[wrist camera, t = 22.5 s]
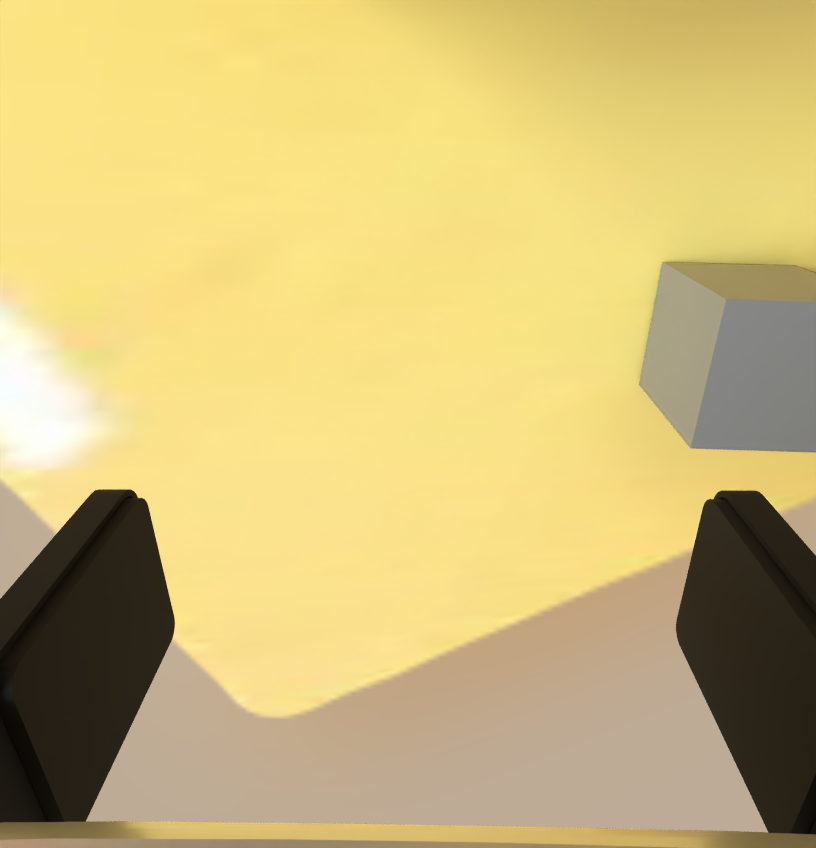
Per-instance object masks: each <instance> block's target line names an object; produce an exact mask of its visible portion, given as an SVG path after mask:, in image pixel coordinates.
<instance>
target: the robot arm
mask: <svg viewBox="0 0 816 848" xmlns="http://www.w3.org/2000/svg"><path fill="white" fill-rule="evenodd" d="M174 627H175V620H174V614H173V610H172V606H171V602H170V597H169V593H168V589H167V585H166V580H165V576H164V572H163V568H162V563H161V559H160V555H159V550H158V546H157V542H156V538H155V533H154V529H153V525H152V521H151V516H150V512H149V508H148V505H147V502H146V501H145V499H143V498H138V497H137V495H136V493H135V492H134V491H132V490H95V491H94V492H93V493H92V494H91V495H90V496H89V497H88V498H87V499H86V500H85V502H84V503H83V504H82V505H81V506H80V507H79V509H78V510H77V511H76V512H75V513H74V514H73V515H72V517H71V518H70V519H69V520H68V521H67V522H66V524H65V525H64V526H63V527H62V528H61V529H60V531H59V532H58V533H57V534H56V535H55V536H54V537H53V539H52V540H51V541H50V542H49V543H48V545H47V546H46V547H45V548H44V549H43V550H42V551H41V553H40V554H39V555H38V556H37V557H36V558H35V560H34V561H33V562H32V563H31V564H30V565H29V567H28V568H27V569H26V570H25V571H24V572H23V574H22V575H21V576H20V577H19V578H18V579H17V580H16V582H15V583H14V584H13V585H12V586H11V587H10V589H9V590H8V591H7V592H6V593H5V595H3V597H2V598H1V599H0V848H816V555H814V553H813V552H812V551H811V550H810V549H809V548H808V546H807V545H806V544H805V543H804V542H803V541H802V540H801V538H800V537H799V536H798V535H797V534H796V533H795V531H794V530H793V529H792V528H791V527H790V526H789V525H788V523H787V522H786V521H785V520H784V519H783V518H782V517H781V515H780V514H779V513H778V512H777V511H776V510H775V509H774V507H773V506H772V505H771V504H770V503H769V502H768V501H767V499H766V498H765V497H764V496H763V495H762V494H761V493H760V492H758V491H720V492H718V493H717V494H716V496H715V498H714V499H709V500H707V501H706V502H705V504H704V507H703V510H702V514H701V519H700V523H699V527H698V532H697V536H696V540H695V544H694V549H693V553H692V557H691V562H690V566H689V570H688V574H687V579H686V583H685V587H684V591H683V596H682V600H681V604H680V609H679V613H678V617H677V622H676V633H677V638H678V642H679V645H680V647H681V649H682V651H683V653H684V655H685V658H686V660H687V662H688V664H689V666H690V668H691V670H692V672H693V674H694V676H695V679H696V680H697V683H698V685H699V687H700V689H701V691H702V693H703V695H704V697H705V700H706V702H707V703H708V706H709V708H710V710H711V712H712V714H713V716H714V718H715V720H716V723H717V725H718V727H719V729H720V731H721V733H722V735H723V737H724V740H725V742H726V744H727V746H728V748H729V750H730V752H731V754H732V756H733V758H734V761H735V763H736V765H737V767H738V769H739V771H740V773H741V775H742V777H743V779H744V782H745V784H746V786H747V788H748V790H749V792H750V794H751V796H752V799H753V800H754V803H755V805H756V807H757V809H758V811H759V813H760V815H761V817H762V819H763V821H764V824H765V826H766V828H767V830H768V832H769V833H764V832H739V831H701V830H656V829H654V830H653V829H608V828H564V827H563V828H561V827H512V826H510V827H509V826H451V825H387V824H386V825H384V824H382V825H381V824H321V823H320V824H319V823H318V824H316V823H227V822H226V823H225V822H127V821H119V822H116V821H114V822H86V819H87V817H88V815H89V813H90V811H91V809H92V807H93V805H94V802H95V800H96V798H97V796H98V794H99V792H100V790H101V788H102V786H103V784H104V781H105V779H106V777H107V775H108V773H109V771H110V769H111V767H112V764H113V762H114V760H115V758H116V756H117V754H118V752H119V750H120V748H121V746H122V744H123V741H124V739H125V737H126V735H127V733H128V731H129V729H130V727H131V725H132V723H133V721H134V718H135V716H136V714H137V712H138V710H139V708H140V706H141V704H142V701H143V699H144V697H145V695H146V693H147V691H148V689H149V687H150V685H151V683H152V681H153V678H154V676H155V674H156V672H157V670H158V668H159V666H160V664H161V662H162V659H163V657H164V655H165V653H166V651H167V649H168V647H169V645H170V643H171V640H172V638H173V634H174Z"/></svg>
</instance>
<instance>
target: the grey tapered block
mask: <svg viewBox="0 0 816 848" xmlns="http://www.w3.org/2000/svg"><path fill="white" fill-rule="evenodd" d="M639 385H640V386H641V388H642V389H643V390H644V391H645V393H646V394H647V395H648V396H649V397H650V399H651V400H652V401H653V402H654V404H655V405H656V406H657V407H658V409H659V410H660V411H661V412H662V414H663V415H664V416H665V417H666V419H667V420H668V421H669V422H670V423H671V425H672V426H673V427H674V428H675V430H676V431H677V432H678V433H679V435H680V436H681V437H682V438H683V440H684V441H685V442H686V443H687V444H688V446H689V447H690V448H696V449H727V450H758V451H789V452H816V273H814V272H811V271H808V270H806V269H803V268H800V267H798V266H790V265H753V264H716V263H679V262H662V267H661V272H660V277H659V282H658V288H657V293H656V298H655V303H654V309H653V314H652V319H651V325H650V330H649V335H648V340H647V346H646V351H645V356H644V361H643V367H642V372H641V377H640V382H639Z"/></svg>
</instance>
